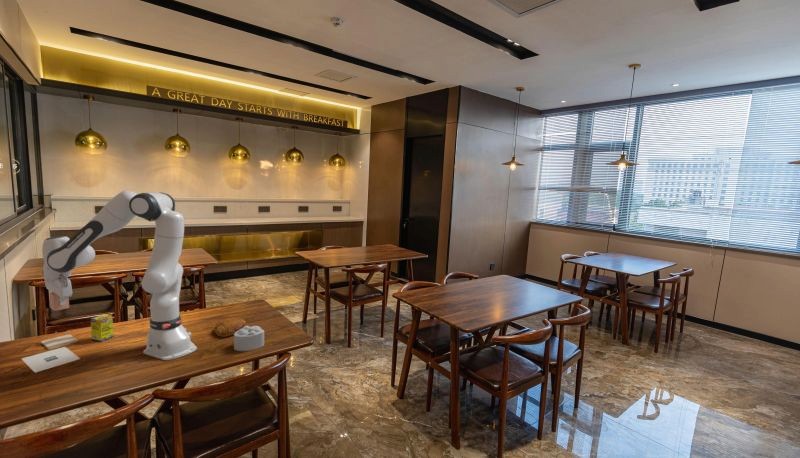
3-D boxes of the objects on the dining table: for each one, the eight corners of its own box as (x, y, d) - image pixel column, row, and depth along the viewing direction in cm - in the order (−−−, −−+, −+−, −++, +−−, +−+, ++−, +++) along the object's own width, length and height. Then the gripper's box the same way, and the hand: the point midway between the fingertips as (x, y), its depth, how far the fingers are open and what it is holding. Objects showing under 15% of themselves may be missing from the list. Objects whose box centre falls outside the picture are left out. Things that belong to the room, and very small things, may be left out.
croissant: (250, 334, 191) (252, 319, 190) (222, 340, 177) (225, 324, 177) (234, 326, 198) (236, 312, 198) (206, 331, 185) (208, 316, 185)
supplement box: (101, 342, 169) (100, 320, 168) (91, 340, 170) (90, 318, 169) (114, 337, 175) (112, 315, 173) (104, 335, 176) (102, 314, 174)
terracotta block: (69, 307, 162) (68, 292, 161) (54, 310, 158) (53, 295, 157) (65, 305, 164) (64, 290, 164) (50, 308, 160) (49, 292, 159)
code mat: (80, 359, 154) (80, 358, 154) (34, 373, 142) (34, 372, 142) (65, 346, 163) (65, 346, 163) (21, 359, 151) (21, 358, 151)
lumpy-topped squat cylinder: (266, 345, 174) (266, 328, 173) (238, 353, 165) (238, 336, 164) (257, 338, 182) (257, 321, 180) (230, 345, 173) (230, 328, 171)
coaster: (77, 341, 168) (77, 339, 168) (48, 349, 160) (48, 347, 160) (69, 335, 174) (69, 333, 173) (41, 343, 165) (41, 341, 165)
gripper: (76, 275, 156) (77, 306, 158) (58, 267, 167) (60, 296, 169) (56, 278, 151) (58, 310, 153) (40, 269, 161) (42, 299, 163)
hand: (59, 302), depth 161 cm, fingers closed on terracotta block, 5 cm apart
